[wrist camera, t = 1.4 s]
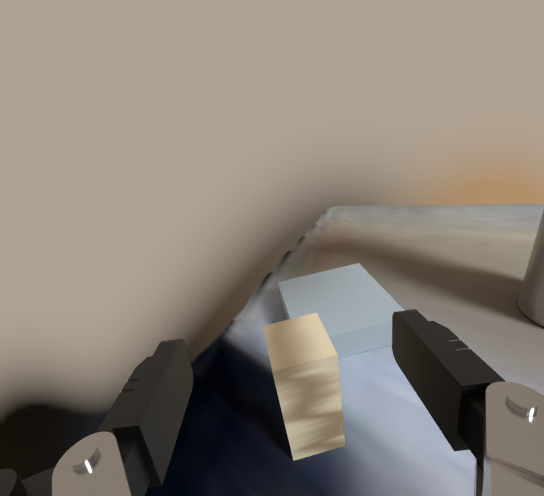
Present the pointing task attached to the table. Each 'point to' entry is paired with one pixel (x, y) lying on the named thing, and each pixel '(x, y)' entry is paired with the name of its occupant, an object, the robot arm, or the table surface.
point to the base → (343, 307)
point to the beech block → (306, 384)
